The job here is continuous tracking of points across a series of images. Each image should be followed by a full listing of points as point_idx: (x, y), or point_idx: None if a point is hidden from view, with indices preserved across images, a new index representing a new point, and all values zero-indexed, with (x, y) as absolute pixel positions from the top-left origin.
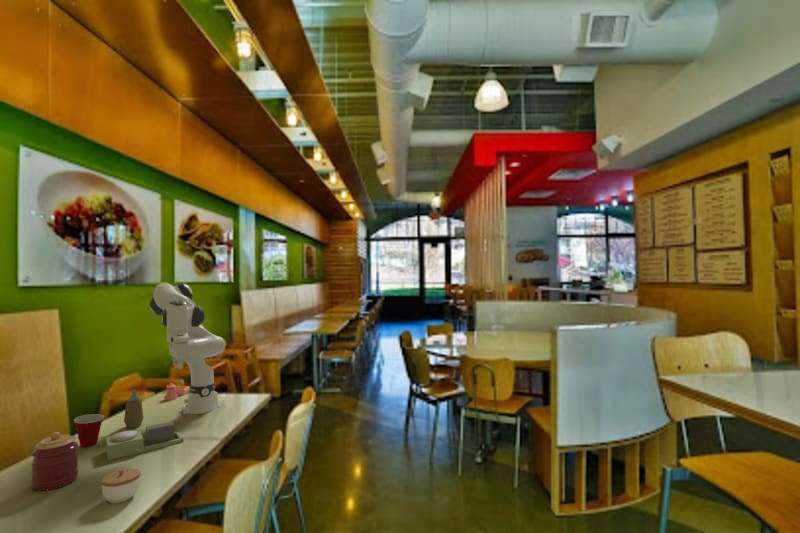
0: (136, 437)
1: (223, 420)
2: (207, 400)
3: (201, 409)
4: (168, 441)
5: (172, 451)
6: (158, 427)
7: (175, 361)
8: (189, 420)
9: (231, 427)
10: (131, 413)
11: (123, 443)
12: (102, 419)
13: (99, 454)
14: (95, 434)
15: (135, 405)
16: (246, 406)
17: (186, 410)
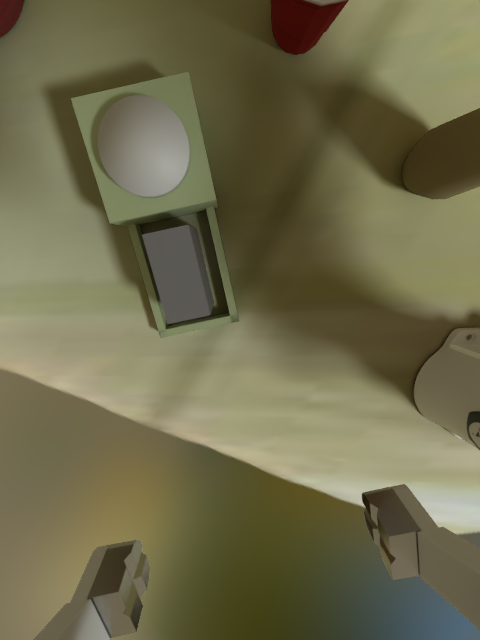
0: (127, 197)
1: (315, 435)
2: (453, 422)
3: (428, 388)
4: (151, 297)
5: (106, 307)
6: (156, 272)
7: (422, 557)
8: (376, 346)
9: (237, 452)
10: (439, 144)
11: (90, 156)
12: (313, 2)
13: None
14: (281, 21)
15: (468, 150)
16: None
17: (475, 339)
